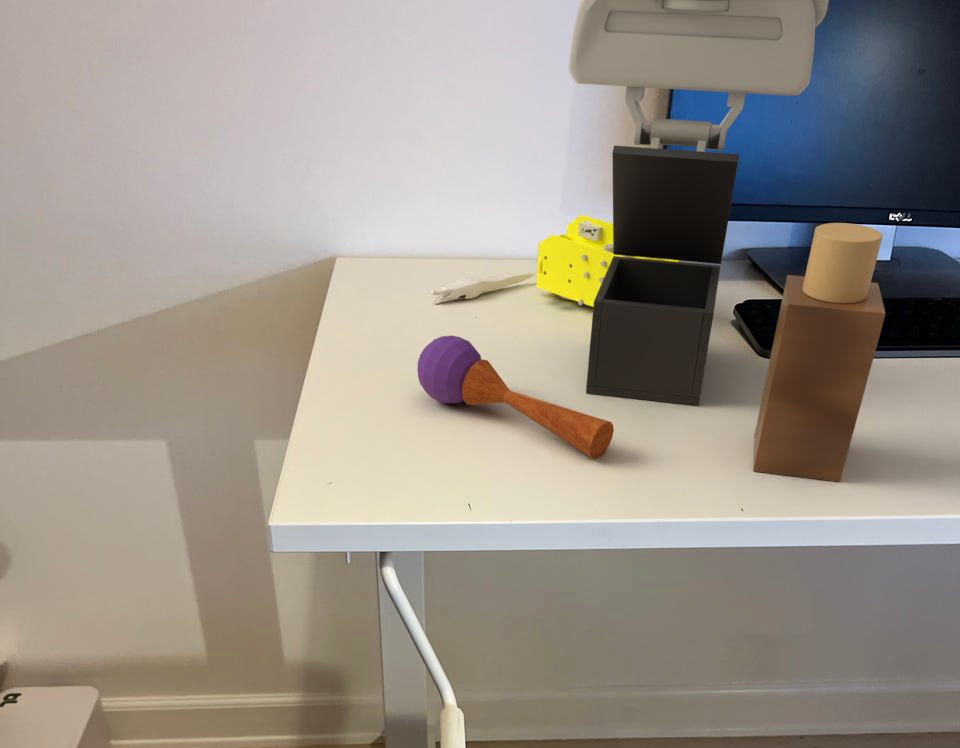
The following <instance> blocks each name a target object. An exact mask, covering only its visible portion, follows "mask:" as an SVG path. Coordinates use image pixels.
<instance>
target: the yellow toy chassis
mask: <svg viewBox="0 0 960 748" xmlns="http://www.w3.org/2000/svg"><path fill="white" fill-rule="evenodd" d="M613 256H618V257H629V258H640V259H651V260H663V261H674V262H681V261H680V260H669V259H658V258H647V257H636V256H624V255H614V254H613V222H612V223H611V222H608V221H605V220H602V219H598V218H595V217H591V216H587V215H584V214H580V215H578V216H577V217H576V218H574V219H573V220H572V221H571V222H570V223H568V224H567V225H566V233H563V234H559V235H555V234H550V235H549V236H548V237H546V238H544V239H542V240H541V241H539V243H538V246H537V263H536V264H537V265H536V281H535V283H536V284H535V287H536V288H538V289H540V290H542V291H546V292H549V293H552V294H555V295H557V296H558V297H559V298H561V299H563V300H567V301H575V302H577V304H578V305H579V306H583V305H586V306H590V307H593V306H594V300H595V298H596V295H597V293H598V291H599V288H600V286H601V284H602V282H603V279H604V277H605V275H606V272H607V270H608V268H609V265H610V263H611V261H612V258H613Z"/></svg>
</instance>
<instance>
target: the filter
mask: <svg viewBox="0 0 960 748" xmlns="http://www.w3.org/2000/svg"><path fill="white" fill-rule="evenodd" d="M882 241H883V233H882V232H881V231H880V230H878V229H875V228H873V227H869V226H866V225H862V224H857V223H849V222H848V223H847V222H829V223H823V224H822V223H821V224H820V225H817V226H816V227H815V229H814V233H813V237H812V242H811V246H810V247H811V248H810V252H809V257H808V260H807V265H806V270H805V274H804V276H805V279H804V283H803V288H802V289H803V292H804V293H805V294H806V295H808V296H810V297H812V298H815V299H817V300H821V301H825V302H831V303H856V302H860V301H863V300H865V299H866V298H867V295H868V291H869V287H870V284H871V282H872V279H873V275H874V273H875V272H874V271H875V269H876V267H875V266H876V264H877V259H878V256H879V252H880V248H881V245H882Z"/></svg>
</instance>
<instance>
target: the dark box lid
mask: <svg viewBox="0 0 960 748" xmlns="http://www.w3.org/2000/svg"><path fill="white" fill-rule="evenodd" d="M652 121H653V122H652V129H651V138H650V142H651V145H650V146H649V147H639V146H627V145H613V148H612V152H611V153H612V155H611V156H612V157H611V158H612V224H613V254H614V255H624V256H636V257H647V258H658V259H669V260H680V262H691V263H693V262H694V263H702V264H713V265H721V264H722V261H723V255H724V248H725V243H726V237H727V231H728V224H729V219H730V214H731V213H730V212H731V208H732V207H731V206H732V200H733V194H734V189H735V183H736V178H737V177H736V176H737V171H738V164H739V159H740V154H739V153H738V154H737V153H728V152H727V153H726V152H725V153H724V152H711V151H706V149H707V145H708V140H709V132H710V127H711V124H712V122H711V121H701V120H700V121H699V120H685V119H671V118H657V117H656V118H655V117H654V118H653V119H652ZM661 145H662V146H663V145H664V146H675V147H676V146H679V147H690V148H691V147H692V148H696V150H682V149H669V148H660V146H661Z"/></svg>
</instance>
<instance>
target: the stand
mask: <svg viewBox="0 0 960 748" xmlns="http://www.w3.org/2000/svg"><path fill="white" fill-rule="evenodd" d="M804 279H805V275H793V274H787V275H786V279H785V284H784V288H783V293H782V298H781V304H780V309H779V313H778V318H777V323H776V329H775V332H774V338H773V343H772V347H771V352H770V357H769V362H768V367H767V372H766V377H765V381H764V385H763V386H764V387H763V391H762V396H761V401H760V407H759V410H758V416H757V420H756V426H755V430H754V439H753V460H752V461H753V463H752V471H753V472H755V473H764V474H765V473H766V474H773V475H779V476H780V475H781V476H789V477H796V478H803V479H804V478H805V479H813V480H821V481H830V482H838V483H840V482H841V479H842V476H843V472H844V469H845V464H846V461H847V457H848V454H849V450H850V446H851V442H852V438H853V435H854V431H855V428H856V423H857V420H858V417H859V412H860V409H861V406H862V401H863V398H864V395H865V391H866V387H867V385H868V384H867V383H868V381H869V376H870V372H871V369H872V365H873V361H874V357H875V354H876V350H877V348H878V347H877V346H878V343H879V339H880V336H881V332H882V328H883V324H884V320H885V318H886V310H885V305H884V302H883V297H882V294H881V289H880V286H879V283H878V282H873V281H871V284H870V287H869V291H868V295H867V298H866V299H865V300H863V301H860V302H856V303H831V302H825V301H821V300H817V299H815V298H812V297H810V296H808V295H806V294H805V293H804V292H803V289H802V288H803V283H804Z"/></svg>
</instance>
